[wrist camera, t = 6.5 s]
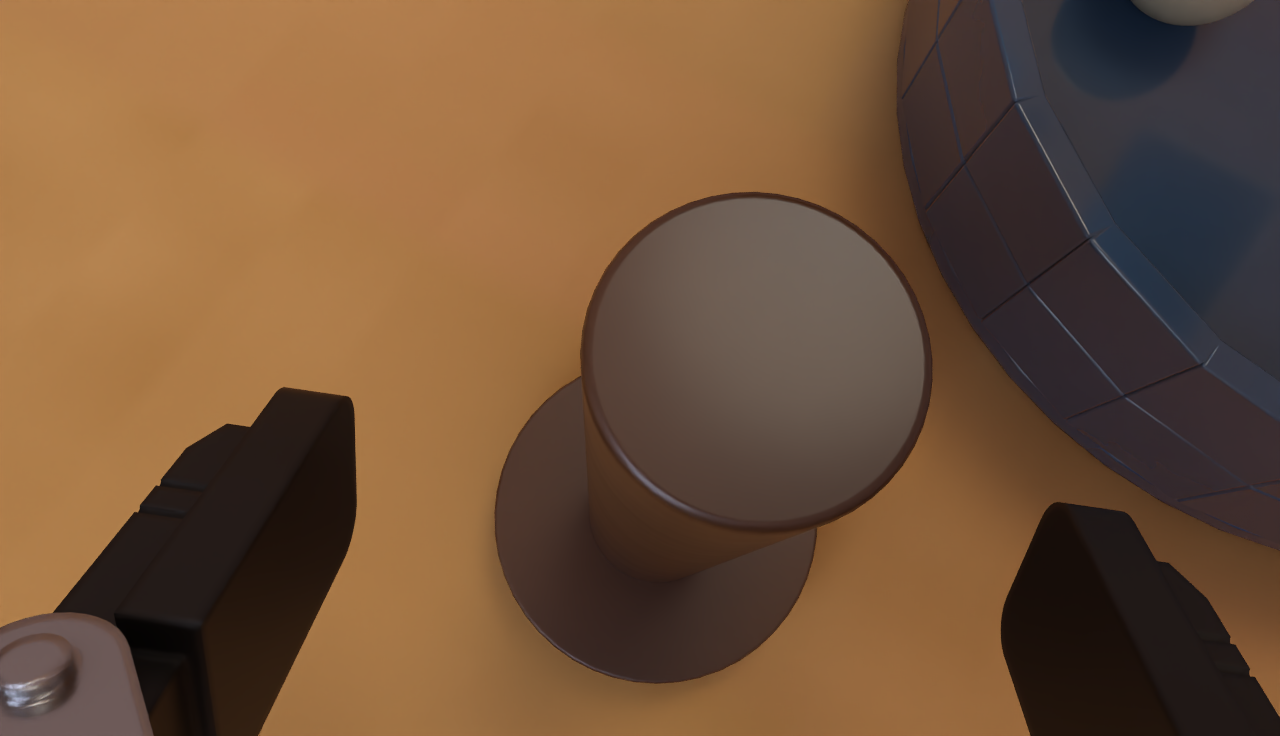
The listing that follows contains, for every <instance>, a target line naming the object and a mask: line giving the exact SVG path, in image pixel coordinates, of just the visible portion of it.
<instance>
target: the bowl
mask: <svg viewBox="0 0 1280 736" xmlns="http://www.w3.org/2000/svg"><path fill="white" fill-rule="evenodd" d="M897 118H898V126H899V133H900V141H901V148H902V156H903V163H904V168H905V172H906V176H907V179H908V183H909V187H910V190H911V194H912V197H913V201H914V205H915V208H916V212H917V216H918V219H919V222H920V225H921V227H922V229H923V232H924V234H925V236H926V239H927V241H928V244H929V246H930V248H931V251H932V253H933V255H934V258H935V260H936V262H937V265H938V267H939V270H940V272H941V274H942V276H943V278H944V280H945V281H946V283H947V285H948V287H949V288H950V290H951V292H952V293H953V295H954V297H955V299H956V300H957V302H958V304H959V306H960V307H961V309H962V311H963V312H964V314H965V316H966V318H967V319H968V321H969V323H970V325H971V326H972V328H973V329H974V330H975V332H976V333H977V334H978V336H979V337H980V338H981V340H982V341H983V342H984V344H985V345H986V346H987V348H988V349H989V350H990V352H991V353H992V354H993V356H994V357H995V358H996V360H997V361H998V362H999V364H1000V365H1001V366H1002V368H1003V369H1004V370H1005V372H1006V373H1007V374H1008V376H1009V377H1010V378H1011V379H1012V380H1013V381H1014V382H1015V383H1016V384H1017V385H1018V386H1019V387H1020V388H1021V389H1022V390H1023V391H1024V393H1025V394H1026V395H1027V396H1028V397H1029V398H1030V399H1031V400H1032V401H1033V402H1034V403H1035V404H1036V405H1037V406H1038V407H1039V408H1040V409H1041V410H1042V411H1043V412H1044V413H1045V414H1046V415H1047V416H1048V418H1049V419H1050V420H1051V421H1052V422H1053V423H1054V424H1056V425H1057V426H1058V427H1059V428H1060V429H1062V430H1063V431H1064V432H1065V433H1066V434H1068V435H1069V436H1070V437H1071V438H1073V439H1074V440H1075V441H1076V442H1077V443H1079V444H1080V445H1081V446H1082V447H1083V448H1085V449H1086V450H1087V451H1088V452H1090V453H1091V454H1092V455H1093V456H1094V457H1096V458H1097V459H1098V460H1099V461H1100V462H1102V463H1103V464H1104V465H1106V466H1107V467H1109V468H1110V469H1112V470H1113V471H1115V472H1116V473H1118V474H1120V475H1121V476H1123V477H1124V478H1126V479H1127V480H1129V481H1130V482H1132V483H1134V484H1135V485H1137V486H1138V487H1140V488H1141V489H1143V490H1144V491H1146V492H1147V493H1149V494H1151V495H1152V496H1154V497H1155V498H1157V499H1158V500H1160V501H1162V502H1164V503H1166V504H1168V505H1170V506H1172V507H1174V508H1176V509H1178V510H1180V511H1182V512H1184V513H1186V514H1188V515H1190V516H1193V517H1195V518H1197V519H1199V520H1201V521H1203V522H1205V523H1207V524H1209V525H1211V526H1213V527H1215V528H1217V529H1219V530H1222V531H1225V532H1228V533H1230V534H1233V535H1236V536H1239V537H1242V538H1245V539H1248V540H1251V541H1254V542H1256V543H1259V544H1262V545H1265V546H1268V547H1271V548H1274V549H1277V550H1280V0H1254V1H1253V2H1251V3H1250V4H1249V5H1248V6H1246V7H1245V8H1243V9H1241V10H1240V11H1238V12H1236V13H1235V14H1233V15H1231V16H1228V17H1226V18H1224V19H1221V20H1219V21H1215V22H1212V23H1207V24H1202V25H1196V26H1180V25H1172V24H1167V23H1164V22H1161V21H1158V20H1156V19H1153V18H1151V17H1150V16H1148V15H1146V14H1145V13H1143V12H1142V11H1141V10H1139V9H1138V8H1137V7H1136V6H1135V5H1134V4H1133V3H1132V1H1131V0H909V1H908V4H907V7H906V10H905V15H904V21H903V27H902V34H901V40H900V47H899V53H898V59H897Z"/></svg>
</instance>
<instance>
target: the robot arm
mask: <svg viewBox="0 0 1280 736" xmlns="http://www.w3.org/2000/svg"><path fill="white" fill-rule="evenodd" d="M356 507H357V494H356V456H355V418H354V407H353V403H352V400H351V398H350V397H348V396H341V395H334V394H327V393H320V392H314V391H307V390H300V389H293V388H286V387H283V388H281V389H279V390H278V391H277V392H276V393H275V394H274V396H273V397H272V398H271V400H270V401H269V403H268V404H267V405H266V407H265V408H264V409H263V411H262V412H261V413H260V415H259V416H258V417H257V419H256V420H255V422H254V423H253V424H252V426H251V427H246V426H239V425H233V424H226V425H224V426H222V427H221V428H219V429H217V430H216V431H214V432H212V433H211V434H209V435H207V436H206V437H204V438H202V439H201V440H199V441H197V442H196V443H194V444H192V445H191V446H189V447H187V448H186V449H185V450H184V452H183V453H182V454H181V455H180V457H179V458H178V459H177V460H176V462H175V463H174V464H173V465H172V466H171V468H170V469H169V470H168V471H167V473H166V474H165V475H164V476H163V478H162V479H161V484H160V486H155V487H154V489H153V490H152V491H151V492H150V494H149V495H148V496H147V497H146V499H145V500H144V501H143V502H142V503H141V505H140V510H139V512H138V513H137V512H134V513H133V515H132V516H131V517H130V518H129V520H128V521H127V522H126V523H125V524H124V526H123V527H122V528H121V529H120V531H119V532H118V533H117V534H116V536H115V537H114V538H113V539H112V540H111V542H110V543H109V544H108V545H107V547H106V548H105V549H104V550H103V552H102V553H101V554H100V555H99V557H98V558H97V559H96V560H95V561H94V563H93V564H92V565H91V566H90V568H89V569H88V570H87V571H86V573H85V574H84V575H83V576H82V577H81V579H80V580H79V581H78V582H77V584H76V585H75V586H74V587H73V589H72V590H71V591H70V592H69V593H68V595H67V596H66V597H65V598H64V600H63V601H62V602H61V603H60V605H59V606H58V607H57V608H56V610H55V611H54V612H53V613H50V614H42V615H37V616H33V617H29V618H25V619H22V620H19V621H16V622H13V623H10V624H7V625H5V626H3V627H1V628H0V736H258V735H259V733H260V731H261V729H262V726H263V724H264V722H265V720H266V718H267V716H268V714H269V712H270V710H271V708H272V706H273V704H274V702H275V700H276V698H277V696H278V694H279V692H280V690H281V687H282V685H283V683H284V681H285V679H286V677H287V675H288V673H289V671H290V669H291V667H292V665H293V663H294V661H295V659H296V657H297V655H298V653H299V651H300V649H301V646H302V644H303V642H304V640H305V638H306V636H307V634H308V632H309V630H310V628H311V626H312V624H313V622H314V620H315V618H316V616H317V614H318V612H319V610H320V607H321V605H322V603H323V601H324V599H325V597H326V595H327V593H328V591H329V589H330V587H331V585H332V583H333V581H334V579H335V577H336V575H337V573H338V571H339V568H340V566H341V564H342V562H343V560H344V558H345V556H346V554H347V551H348V548H349V545H350V542H351V538H352V534H353V529H354V524H355V518H356ZM1001 643H1002V649H1003V654H1004V657H1005V660H1006V663H1007V666H1008V669H1009V672H1010V675H1011V678H1012V681H1013V684H1014V687H1015V690H1016V693H1017V696H1018V699H1019V702H1020V705H1021V708H1022V711H1023V714H1024V717H1025V720H1026V723H1027V726H1028V729H1029V732H1030V735H1031V736H1280V717H1279V716H1278V714H1277V712H1276V711H1275V709H1274V707H1273V706H1272V704H1271V703H1270V701H1269V699H1268V698H1267V696H1266V694H1265V693H1264V691H1263V689H1262V688H1261V686H1260V684H1259V683H1258V681H1257V680H1256V678H1255V677H1250V675H1249V670H1250V668H1249V666H1248V665H1247V663H1246V661H1245V660H1244V658H1243V657H1242V655H1241V653H1240V652H1239V650H1238V648H1237V647H1236V645H1234V644H1230V635H1229V634H1228V632H1227V630H1226V629H1225V627H1224V625H1223V624H1222V622H1221V620H1220V619H1219V617H1218V615H1217V614H1216V612H1215V611H1214V609H1213V607H1212V606H1211V604H1210V602H1209V601H1208V599H1207V598H1206V597H1205V596H1204V595H1203V594H1202V593H1201V592H1200V591H1198V590H1197V589H1196V588H1195V587H1194V586H1193V585H1192V584H1191V583H1190V582H1189V581H1188V580H1187V579H1186V578H1184V577H1183V576H1182V575H1181V574H1180V573H1179V572H1178V571H1177V570H1176V569H1175V568H1174V567H1173V566H1172V565H1170V564H1169V563H1166V562H1159V561H1156V559H1155V558H1154V556H1153V554H1152V552H1151V551H1150V549H1149V547H1148V545H1147V544H1146V542H1145V540H1144V538H1143V537H1142V535H1141V533H1140V531H1139V530H1138V528H1137V526H1136V524H1135V523H1134V521H1133V520H1132V518H1131V517H1130V516H1129V515H1128V514H1127V513H1125V512H1123V511H1116V510H1109V509H1102V508H1095V507H1088V506H1081V505H1075V504H1068V503H1061V502H1056V503H1053V504H1052V505H1050V506H1049V507H1048V508H1047V510H1046V511H1045V512H1044V514H1043V516H1042V518H1041V520H1040V523H1039V525H1038V527H1037V529H1036V532H1035V534H1034V536H1033V539H1032V541H1031V543H1030V545H1029V548H1028V550H1027V552H1026V554H1025V557H1024V559H1023V561H1022V564H1021V566H1020V568H1019V570H1018V573H1017V575H1016V577H1015V579H1014V582H1013V584H1012V586H1011V589H1010V591H1009V593H1008V595H1007V598H1006V601H1005V604H1004V607H1003V612H1002V619H1001Z"/></svg>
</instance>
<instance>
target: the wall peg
mask: <svg viewBox="0 0 1280 736" xmlns="http://www.w3.org/2000/svg"><path fill="white" fill-rule="evenodd" d="M580 358H581V376H580V377H578V378H576V379H575V380H573V381H571V382H570V383H568V384H567V385H565V386H563V387H562V388H561V389H559V390H558V391H557V392H556V393H554V394H553V395H552V396H551V397H550V398H548V399H547V400H546V401H545V402H544V403H543V404H542V405H541V406H540V407H539V408H538V409H537V410H536V411H535V413H534V414H533V415H532V416H531V417H530V419H529V420H528V421H527V423H526V424H525V425H524V427H523V428H522V430H521V431H520V432H519V434H518V436H517V438H516V440H515V441H514V443H513V445H512V447H511V449H510V451H509V453H508V456H507V458H506V461H505V464H504V466H503V469H502V472H501V476H500V480H499V484H498V488H497V494H496V503H495V537H496V543H497V550H498V556H499V559H500V563H501V566H502V569H503V573H504V576H505V578H506V581H507V583H508V585H509V587H510V590H511V592H512V594H513V596H514V598H515V600H516V601H517V603H518V605H519V606H520V608H521V609H522V611H523V613H524V614H525V616H526V617H527V618H528V619H529V621H530V622H531V623H532V624H533V625H534V627H535V628H536V629H537V630H538V632H539V633H540V634H542V635H543V636H544V637H545V638H546V639H547V640H548V641H549V642H550V643H551V644H552V645H553V646H554V647H556V648H557V649H558V650H560V651H561V652H563V653H564V654H565V655H567V656H568V657H570V658H571V659H572V660H574V661H576V662H578V663H580V664H582V665H584V666H586V667H588V668H590V669H591V670H594V671H597V672H599V673H602V674H605V675H608V676H610V677H613V678H618V679H623V680H627V681H632V682H641V683H655V684H658V683H674V682H682V681H687V680H691V679H696V678H701V677H703V676H706V675H709V674H712V673H715V672H718V671H720V670H722V669H724V668H726V667H728V666H730V665H732V664H734V663H736V662H738V661H740V660H741V659H743V658H744V657H745V656H747V655H748V654H750V653H751V652H753V651H754V650H755V649H757V648H758V647H759V646H760V645H761V644H762V643H763V642H765V641H766V640H767V639H768V638H769V637H770V636H771V635H772V634H773V633H774V632H775V631H776V629H777V628H778V627H779V626H780V625H781V623H782V622H783V621H784V620H785V619H786V617H787V616H788V614H789V613H790V611H791V609H792V608H793V606H794V605H795V603H796V601H797V600H798V598H799V596H800V594H801V591H802V589H803V587H804V585H805V582H806V580H807V577H808V574H809V571H810V567H811V564H812V561H813V556H814V550H815V544H816V537H817V527H820V526H823V525H825V524H828V523H831V522H833V521H835V520H837V519H839V518H841V517H843V516H845V515H847V514H849V513H851V512H853V511H854V510H856V509H857V508H858V507H860V506H861V505H863V504H864V503H866V502H867V501H869V500H870V499H871V498H873V497H874V496H875V495H876V494H877V493H878V492H879V491H880V490H881V489H882V488H883V487H885V486H886V485H887V484H888V483H889V482H890V480H891V479H892V478H893V477H894V475H895V474H896V473H897V472H898V471H899V469H900V468H901V467H902V466H903V464H904V463H905V461H906V459H907V458H908V456H909V454H910V453H911V451H912V449H913V448H914V446H915V444H916V442H917V439H918V437H919V435H920V432H921V430H922V428H923V425H924V422H925V418H926V414H927V411H928V407H929V403H930V396H931V388H932V353H931V346H930V339H929V334H928V331H927V327H926V323H925V319H924V316H923V313H922V311H921V308H920V306H919V303H918V301H917V299H916V296H915V294H914V292H913V290H912V288H911V287H910V285H909V283H908V281H907V280H906V278H905V276H904V274H903V273H902V272H901V270H900V269H899V268H898V266H897V265H896V264H895V262H894V261H893V260H892V258H891V257H890V256H889V255H888V254H887V253H886V252H885V251H884V250H883V249H882V248H881V247H880V246H879V244H878V243H877V242H876V241H875V240H873V239H872V238H871V237H870V236H868V235H867V234H866V233H865V232H864V231H862V230H861V229H860V228H859V227H857V226H856V225H854V224H853V223H851V222H849V221H848V220H846V219H845V218H843V217H842V216H840V215H838V214H836V213H834V212H832V211H830V210H828V209H826V208H824V207H821V206H819V205H816V204H813V203H810V202H808V201H805V200H802V199H799V198H794V197H789V196H784V195H780V194H772V193H760V192H744V193H730V194H723V195H717V196H711V197H707V198H704V199H700V200H697V201H694V202H690V203H687V204H685V205H683V206H681V207H678V208H676V209H674V210H671V211H669V212H668V213H666V214H664V215H663V216H661V217H659V218H658V219H656V220H654V221H653V222H651V223H650V224H648V225H647V226H646V227H644V228H643V229H642V230H641V231H639V232H638V233H637V234H636V235H634V236H633V237H632V238H631V239H630V240H629V241H628V242H627V243H626V245H625V246H624V247H623V248H622V249H621V250H620V251H619V252H618V253H617V254H616V256H615V257H614V259H613V260H612V261H611V263H610V264H609V265H608V267H607V268H606V270H605V271H604V273H603V275H602V277H601V279H600V281H599V282H598V284H597V286H596V288H595V290H594V293H593V295H592V298H591V301H590V303H589V306H588V309H587V313H586V317H585V321H584V326H583V330H582V340H581V351H580Z"/></svg>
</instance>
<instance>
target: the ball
mask: <svg viewBox="0 0 1280 736" xmlns="http://www.w3.org/2000/svg"><path fill="white" fill-rule="evenodd" d="M1131 1H1132V3H1133V4H1134V5H1135V6H1136V7H1137V8H1138V9H1139V10H1141V11H1142V12H1143V13H1145V14H1146V15H1148V16H1150V17H1151V18H1153V19H1156V20H1158V21H1161V22H1164V23H1167V24H1172V25H1180V26H1196V25H1202V24H1207V23H1212V22H1215V21H1219V20H1221V19H1224V18H1226V17H1228V16H1231V15H1233V14H1235V13H1236V12H1238V11H1240V10H1241V9H1243V8H1245V7H1246V6H1248V5H1249V4H1250V3H1251V2H1253V1H1254V0H1131Z"/></svg>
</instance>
